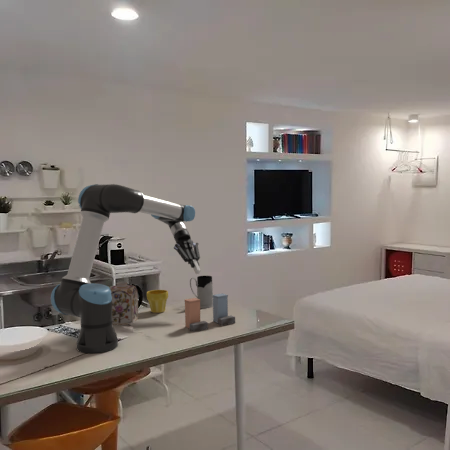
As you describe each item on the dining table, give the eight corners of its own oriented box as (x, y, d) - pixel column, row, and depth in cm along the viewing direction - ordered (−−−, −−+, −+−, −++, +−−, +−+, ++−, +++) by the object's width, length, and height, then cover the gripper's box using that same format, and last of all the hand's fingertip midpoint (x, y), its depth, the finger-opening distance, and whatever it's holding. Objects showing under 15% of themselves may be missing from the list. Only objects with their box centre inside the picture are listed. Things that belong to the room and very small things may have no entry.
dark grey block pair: (188, 336, 192) (188, 326, 191) (172, 328, 203) (171, 319, 203) (240, 325, 206) (240, 316, 206) (222, 318, 218) (222, 309, 218)
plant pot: (147, 309, 237) (147, 289, 236) (168, 308, 238) (168, 289, 237) (146, 314, 226) (146, 294, 226) (168, 313, 227) (168, 293, 227)
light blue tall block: (218, 323, 205) (217, 296, 204) (213, 321, 208) (212, 295, 208) (228, 321, 208) (227, 295, 207) (222, 319, 211) (222, 293, 211)
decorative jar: (138, 318, 220) (137, 279, 219) (133, 325, 209) (132, 285, 207) (113, 318, 221) (111, 280, 219) (106, 325, 209) (104, 285, 208)
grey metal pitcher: (206, 309, 235) (205, 279, 234) (184, 305, 243) (184, 276, 242) (217, 305, 242) (216, 276, 240) (196, 301, 250) (195, 273, 249)
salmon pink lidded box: (190, 329, 197) (189, 301, 196) (185, 326, 201) (184, 299, 200) (200, 326, 200) (200, 299, 199) (195, 324, 204) (195, 297, 203)
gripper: (189, 238, 238) (207, 275, 226) (166, 239, 231) (183, 278, 218) (195, 228, 234) (213, 266, 221) (171, 229, 226) (188, 268, 214)
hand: (198, 272), depth 220 cm, fingers closed
